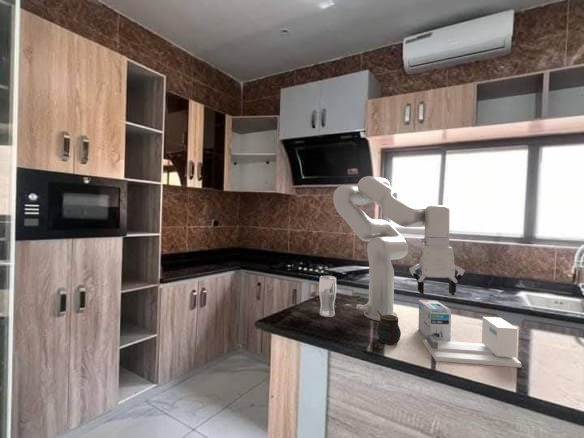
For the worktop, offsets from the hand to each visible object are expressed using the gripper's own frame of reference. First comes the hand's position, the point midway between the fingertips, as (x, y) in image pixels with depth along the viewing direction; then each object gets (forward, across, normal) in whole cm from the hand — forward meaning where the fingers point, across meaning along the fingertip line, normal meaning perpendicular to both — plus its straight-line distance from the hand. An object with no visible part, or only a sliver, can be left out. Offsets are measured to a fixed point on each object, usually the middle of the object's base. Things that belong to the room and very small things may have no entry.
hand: (436, 293), depth 105 cm
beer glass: (+14, -37, +16) cm, 42 cm away
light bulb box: (+15, -1, +1) cm, 15 cm away
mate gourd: (+14, -17, -7) cm, 23 cm away
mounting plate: (+15, +5, -12) cm, 20 cm away
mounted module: (+13, +13, -12) cm, 22 cm away
